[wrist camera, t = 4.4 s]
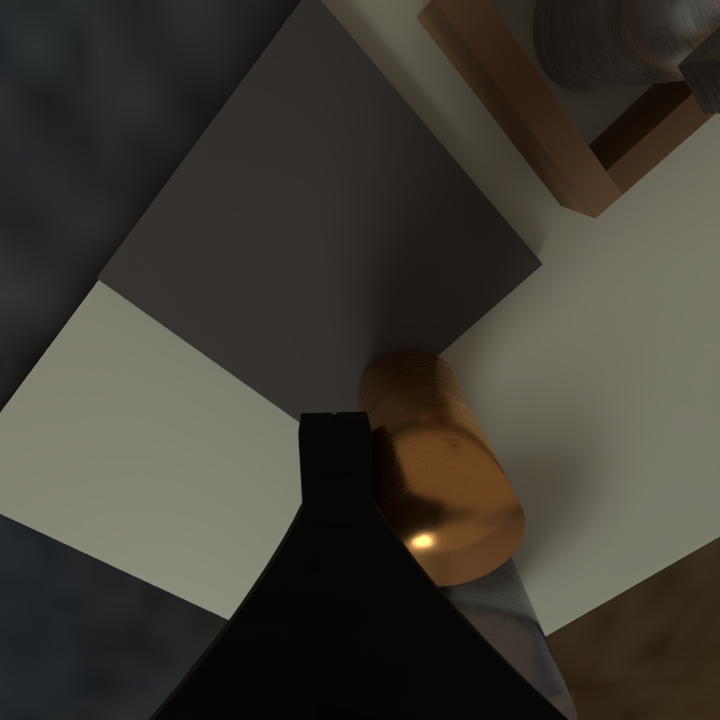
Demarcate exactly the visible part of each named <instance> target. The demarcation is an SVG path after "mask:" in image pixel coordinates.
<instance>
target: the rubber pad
mask: <svg viewBox="0 0 720 720" xmlns="http://www.w3.org/2000/svg"><path fill="white" fill-rule="evenodd" d="M541 265H542V262H541V261H540V260H539V259H538V258H537V257H536V255H535V254H534V253H533V252H532V251H531V249H530V248H529V247H528V246H527V245H526V243H525V242H524V241H523V240H522V239H521V237H520V236H519V235H518V234H517V233H516V232H515V230H514V229H513V228H512V227H511V226H510V224H509V223H508V222H507V221H506V220H505V218H504V217H503V216H502V215H501V214H500V213H499V211H498V210H497V209H496V208H495V207H494V205H493V204H492V203H491V202H490V201H489V199H488V198H487V197H486V196H485V195H484V194H483V192H482V191H481V190H480V189H479V188H478V186H477V185H476V184H475V183H474V182H473V180H472V179H471V178H470V177H469V176H468V174H467V173H466V172H465V171H464V170H463V169H462V167H461V166H460V165H459V164H458V163H457V161H456V160H455V159H454V158H453V157H452V155H451V154H450V153H449V152H448V151H447V150H446V148H445V147H444V146H443V145H442V144H441V142H440V141H439V140H438V139H437V138H436V136H435V135H434V134H433V133H432V132H431V131H430V129H429V128H428V127H427V126H426V125H425V123H424V122H423V121H422V120H421V119H420V117H419V116H418V115H417V114H416V113H415V111H414V110H413V109H412V108H411V107H410V106H409V104H408V103H407V102H406V101H405V100H404V98H403V97H402V96H401V95H400V94H399V92H398V91H397V90H396V89H395V88H394V87H393V85H392V84H391V83H390V82H389V81H388V79H387V78H386V77H385V76H384V75H383V73H382V72H381V71H380V70H379V69H378V68H377V66H376V65H375V64H374V63H373V62H372V60H371V59H370V58H369V57H368V56H367V54H366V53H365V52H364V51H363V50H362V49H361V47H360V46H359V45H358V44H357V43H356V41H355V40H354V39H353V38H352V37H351V35H350V34H349V33H348V32H347V31H346V29H345V28H344V27H343V26H342V25H341V24H340V22H339V21H338V20H337V19H336V18H335V16H334V15H333V14H332V13H331V12H330V10H329V9H328V8H327V7H326V6H325V5H324V3H323V2H322V1H321V0H301V2H300V3H299V4H298V6H297V7H296V8H295V10H294V11H293V12H292V14H291V15H290V16H289V18H288V19H287V20H286V22H285V23H284V25H283V26H282V27H281V29H280V30H279V31H278V33H277V34H276V35H275V37H274V38H273V39H272V41H271V42H270V43H269V45H268V46H267V48H266V49H265V50H264V52H263V53H262V54H261V56H260V57H259V58H258V60H257V61H256V62H255V64H254V65H253V67H252V68H251V69H250V71H249V72H248V73H247V75H246V76H245V77H244V79H243V80H242V81H241V83H240V84H239V85H238V87H237V88H236V90H235V91H234V92H233V94H232V95H231V96H230V98H229V99H228V100H227V102H226V103H225V104H224V106H223V107H222V109H221V110H220V111H219V113H218V114H217V115H216V117H215V118H214V119H213V121H212V122H211V123H210V125H209V126H208V127H207V129H206V130H205V132H204V133H203V134H202V136H201V137H200V138H199V140H198V141H197V142H196V144H195V145H194V146H193V148H192V149H191V150H190V152H189V153H188V155H187V156H186V157H185V159H184V160H183V161H182V163H181V164H180V165H179V167H178V168H177V169H176V171H175V172H174V174H173V175H172V176H171V178H170V179H169V180H168V182H167V183H166V184H165V186H164V187H163V188H162V190H161V191H160V192H159V194H158V195H157V197H156V198H155V199H154V201H153V202H152V203H151V205H150V206H149V207H148V209H147V210H146V211H145V213H144V214H143V216H142V217H141V218H140V220H139V221H138V222H137V224H136V225H135V226H134V228H133V229H132V230H131V232H130V233H129V234H128V236H127V237H126V239H125V240H124V241H123V243H122V244H121V245H120V247H119V248H118V249H117V251H116V252H115V253H114V255H113V256H112V258H111V259H110V260H109V262H108V263H107V264H106V266H105V267H104V268H103V270H102V271H101V272H100V274H99V275H98V276H97V279H98V280H99V281H101V282H102V283H104V284H105V285H107V286H108V287H109V288H111V289H112V290H114V291H115V292H116V293H118V294H119V295H121V296H122V297H123V298H125V299H126V300H128V301H129V302H130V303H132V304H133V305H135V306H136V307H137V308H139V309H140V310H142V311H143V312H145V313H146V314H147V315H149V316H150V317H152V318H153V319H154V320H156V321H157V322H159V323H160V324H161V325H163V326H164V327H166V328H167V329H168V330H170V331H171V332H173V333H174V334H175V335H177V336H178V337H180V338H181V339H182V340H184V341H185V342H187V343H188V344H190V345H191V346H192V347H194V348H195V349H197V350H198V351H199V352H201V353H202V354H204V355H205V356H206V357H208V358H209V359H211V360H212V361H213V362H215V363H216V364H218V365H219V366H220V367H222V368H223V369H225V370H226V371H228V372H229V373H230V374H232V375H233V376H235V377H236V378H237V379H239V380H240V381H242V382H243V383H244V384H246V385H247V386H249V387H250V388H251V389H253V390H254V391H256V392H257V393H258V394H260V395H261V396H263V397H264V398H265V399H267V400H268V401H270V402H271V403H273V404H274V405H275V406H277V407H278V408H280V409H281V410H282V411H284V412H285V413H287V414H288V415H289V416H291V417H292V418H294V419H295V420H296V421H298V422H300V416H301V413H327V412H331V413H332V414H333V415H335V414H336V413H337V412H358V403H357V392H358V387H359V384H360V381H361V380H362V378H363V376H364V374H365V373H366V372H367V370H368V369H369V368H370V367H371V366H372V365H373V364H375V363H376V362H377V361H379V360H380V359H382V358H383V357H385V356H388V355H390V354H393V353H396V352H400V351H406V350H419V351H425V352H429V353H432V354H434V355H436V356H439V355H440V354H441V353H442V352H443V351H444V350H445V349H447V348H448V347H449V346H450V345H451V344H452V343H453V342H455V341H456V340H457V339H458V338H459V337H460V336H461V335H463V334H464V333H465V332H466V331H467V330H468V329H469V328H471V327H472V326H473V325H474V324H475V323H476V322H477V321H479V320H480V319H481V318H482V317H483V316H484V315H485V314H487V313H488V312H489V311H490V310H491V309H492V308H493V307H495V306H496V305H497V304H498V303H499V302H500V301H501V300H503V299H504V298H505V297H506V296H507V295H508V294H509V293H511V292H512V291H513V290H514V289H515V288H516V287H517V286H519V285H520V284H521V283H522V282H523V281H524V280H525V279H527V278H528V277H529V276H530V275H531V274H532V273H533V272H535V271H536V270H537V269H538V268H539V267H540V266H541Z"/></svg>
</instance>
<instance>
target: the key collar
mask: <svg viewBox="0 0 720 720" xmlns="http://www.w3.org/2000/svg"><path fill="white" fill-rule="evenodd" d="M417 19H418V20H419V22H420V23H421V24H422V26H423V27H424V28H425V29H426V31H427V32H428V33H429V35H430V36H431V37H432V39H433V40H434V41H435V42H436V44H437V45H438V46H439V48H440V49H441V50H442V52H443V53H444V54H445V56H446V57H447V58H448V59H449V61H450V62H451V63H452V65H453V66H454V67H455V69H456V70H457V71H458V73H459V74H460V75H461V76H462V78H463V79H464V80H465V82H466V83H467V84H468V86H469V87H470V88H471V89H472V91H473V92H474V93H475V95H476V96H477V97H478V99H479V100H480V101H481V103H482V104H483V105H484V106H485V108H486V109H487V110H488V112H489V113H490V114H491V116H492V117H493V118H494V120H495V121H496V122H497V123H498V125H499V126H500V127H501V129H502V130H503V131H504V133H505V134H506V135H507V137H508V138H509V139H510V140H511V142H512V143H513V144H514V146H515V147H516V148H517V150H518V151H519V152H520V153H521V155H522V156H523V157H524V159H525V160H526V161H527V163H528V164H529V165H530V167H531V168H532V169H533V170H534V172H535V173H536V174H537V176H538V177H539V178H540V180H541V181H542V182H543V184H544V185H545V186H546V187H547V189H548V190H549V191H550V193H551V194H552V195H553V197H554V198H555V199H556V200H557V202H558V203H559V204H560V206H563V207H565V208H568V209H571V210H573V211H576V212H579V213H581V214H584V215H587V216H590V217H592V218H595V219H596V218H597V217H598V216H599V215H600V214H602V213H603V212H604V211H605V210H606V209H607V208H608V207H610V206H611V205H612V204H613V203H614V202H615V201H616V200H618V199H619V198H620V197H621V196H622V195H623V194H624V193H626V192H627V191H628V190H629V189H630V188H631V187H632V186H634V185H635V184H636V183H637V182H638V181H639V180H640V179H642V178H643V177H644V176H645V175H646V174H647V173H648V172H650V171H651V170H652V169H653V168H654V167H655V166H656V165H658V164H659V163H660V162H661V161H662V160H663V159H664V158H666V157H667V156H668V155H669V154H670V153H671V152H672V151H674V150H675V149H676V148H677V147H678V146H679V145H680V144H682V143H683V142H684V141H685V140H686V139H687V138H688V137H690V136H691V135H692V134H693V133H694V132H695V131H696V130H697V129H699V128H700V127H701V126H702V125H703V124H704V123H705V122H707V121H708V120H709V119H710V118H711V117H712V116H713V115H715V114H703V112H702V110H701V108H700V106H699V105H698V103H697V101H696V99H695V97H694V96H693V94H692V92H691V90H690V88H689V86H688V85H687V83H686V81H685V80H683V81H674V82H665V83H656V84H653V85H652V86H651V87H650V88H649V89H648V90H647V91H646V92H645V93H644V94H643V95H642V96H641V97H640V98H638V99H637V100H636V101H635V102H634V103H633V104H632V105H631V106H630V107H629V108H628V109H627V110H626V111H625V112H624V113H623V114H621V115H620V116H619V117H618V118H617V119H616V120H615V121H614V122H613V123H612V124H611V125H610V126H609V127H608V128H607V129H605V130H604V131H603V132H602V133H601V134H600V135H599V136H598V137H597V138H596V139H595V140H594V141H593V142H592V143H591V144H589V145H588V144H587V143H586V141H585V140H584V138H583V137H582V136H581V134H580V133H579V131H578V130H577V128H576V127H575V125H574V124H573V122H572V121H571V120H570V118H569V117H568V115H567V114H566V112H565V111H564V109H563V108H562V106H561V105H560V104H559V102H558V101H557V99H556V98H555V96H554V95H553V93H552V92H551V90H550V89H549V88H548V86H547V85H546V83H545V82H544V80H543V79H542V77H541V76H540V74H539V73H538V72H537V70H536V69H535V67H534V66H533V64H532V63H531V61H530V60H529V58H528V57H527V56H526V54H525V53H524V51H523V50H522V48H521V47H520V45H519V44H518V42H517V41H516V40H515V38H514V37H513V35H512V34H511V32H510V31H509V29H508V28H507V26H506V25H505V24H504V22H503V21H502V19H501V18H500V16H499V15H498V13H497V12H496V10H495V9H494V8H493V6H492V5H491V3H490V2H489V0H431V1H430V2H429V4H428V5H427V6H426V7H425V8H424V10H423V11H422V12H421V13H420V14H419V16H418V17H417Z"/></svg>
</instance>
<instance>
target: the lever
mask: <svg viewBox="0 0 720 720" xmlns="http://www.w3.org/2000/svg"><path fill="white" fill-rule="evenodd" d="M357 403H358V412H366V411H367V415H368V418H369V421H370V425H371V430H372V451H373V488H374V500H375V502H376V503H377V505H378V506H379V508H380V510H381V511H382V513H383V514H384V516H385V517H386V519H387V520H388V522H389V523H390V525H391V526H392V528H393V529H394V531H395V532H396V533H397V535H398V536H399V538H400V539H401V540H402V542H403V543H404V544H405V546H406V547H407V548H408V550H409V551H410V552H411V554H412V555H413V556H414V558H415V559H416V560H417V562H418V563H419V564H420V565H421V567H422V568H423V569H424V570H425V571H426V573H427V574H428V575H429V576H430V578H431V579H432V580H433V581H434V582H435V584H436V585H437V586H451V585H457V584H462V583H465V582H469V581H472V580H475V579H477V578H480V577H482V576H484V575H486V574H488V573H490V572H492V571H493V570H495V569H497V568H498V567H499V566H501V565H502V564H503V563H504V562H506V561H507V560H508V559H509V558H510V557H511V556H512V554H513V553H514V552H515V551H516V549H517V548H518V546H519V545H520V543H521V540H522V538H523V535H524V532H525V515H524V512H523V509H522V507H521V505H520V503H519V501H518V499H517V497H516V495H515V493H514V491H513V489H512V487H511V485H510V483H509V481H508V479H507V477H506V475H505V473H504V471H503V469H502V467H501V465H500V463H499V461H498V459H497V457H496V455H495V453H494V451H493V449H492V447H491V445H490V443H489V441H488V439H487V437H486V435H485V433H484V431H483V429H482V427H481V425H480V423H479V421H478V419H477V417H476V415H475V413H474V411H473V409H472V407H471V405H470V403H469V401H468V399H467V397H466V395H465V393H464V391H463V389H462V387H461V385H460V383H459V381H458V379H457V377H456V375H455V373H454V371H453V369H452V368H451V367H450V366H449V364H448V363H447V362H445V361H444V360H443V359H442V358H440V357H438V356H436V355H434V354H432V353H429V352H425V351H419V350H406V351H400V352H396V353H393V354H390V355H388V356H385V357H383V358H382V359H380V360H379V361H377V362H376V363H375V364H373V365H372V366H371V367H370V368H369V369H368V370H367V372H366V373H365V374H364V376H363V378H362V380H361V381H360V384H359V387H358V392H357Z"/></svg>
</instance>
